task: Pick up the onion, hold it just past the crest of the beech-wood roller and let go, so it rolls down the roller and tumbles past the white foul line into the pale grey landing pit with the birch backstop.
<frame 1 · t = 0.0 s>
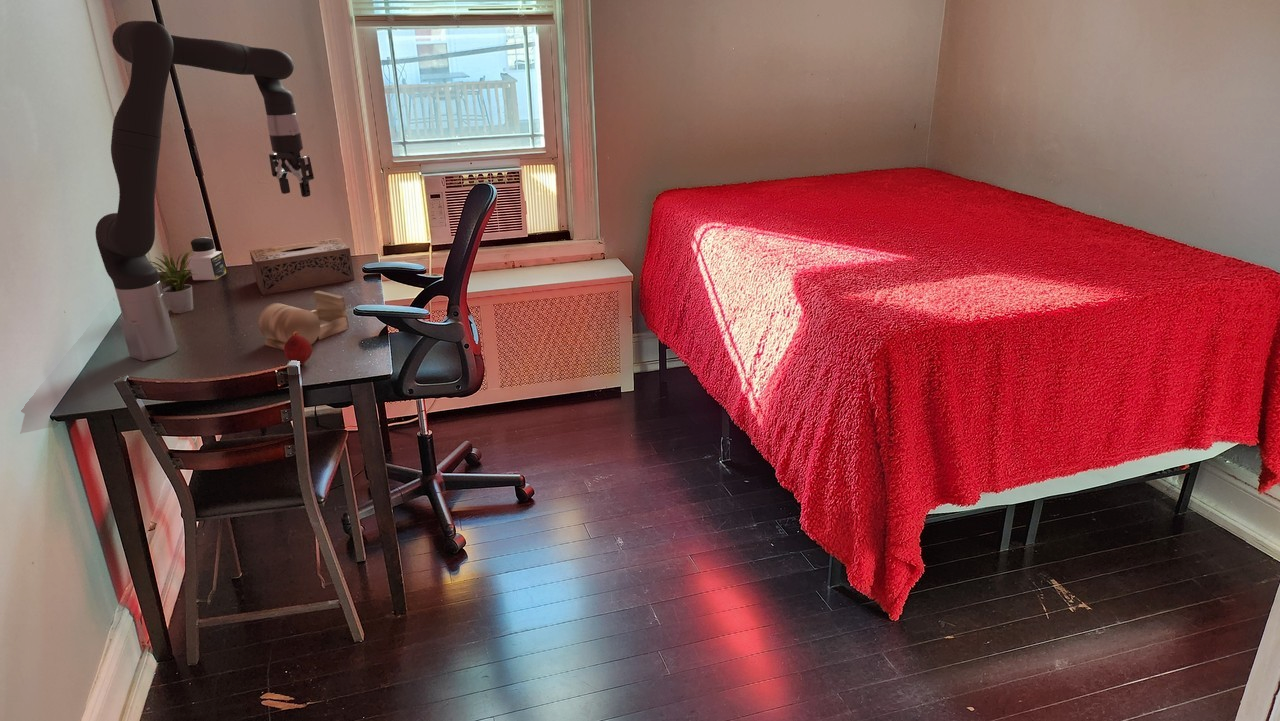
hand: (296, 194, 222), 29 cm above the table, tool pointing down, fingers open, 8 cm apart
pit walls: (318, 329, 211), on the table
onion: (301, 366, 190), on the table
medicine bottle: (210, 277, 256), on the table
tissue box cover: (305, 282, 250), on the table
house plant: (184, 309, 229), on the table
roller: (292, 342, 203), on the table
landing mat: (318, 329, 211), on the table
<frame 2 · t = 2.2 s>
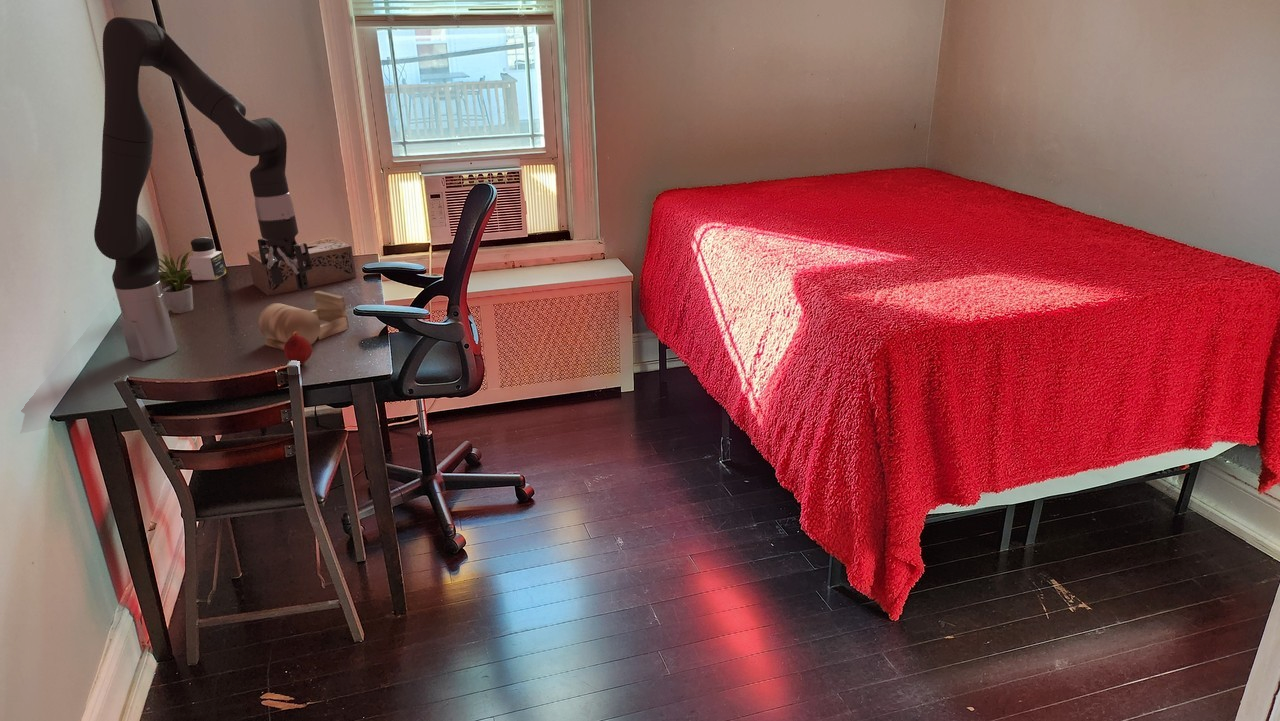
hand: (291, 286, 187), 17 cm above the table, tool pointing down, fingers open, 8 cm apart
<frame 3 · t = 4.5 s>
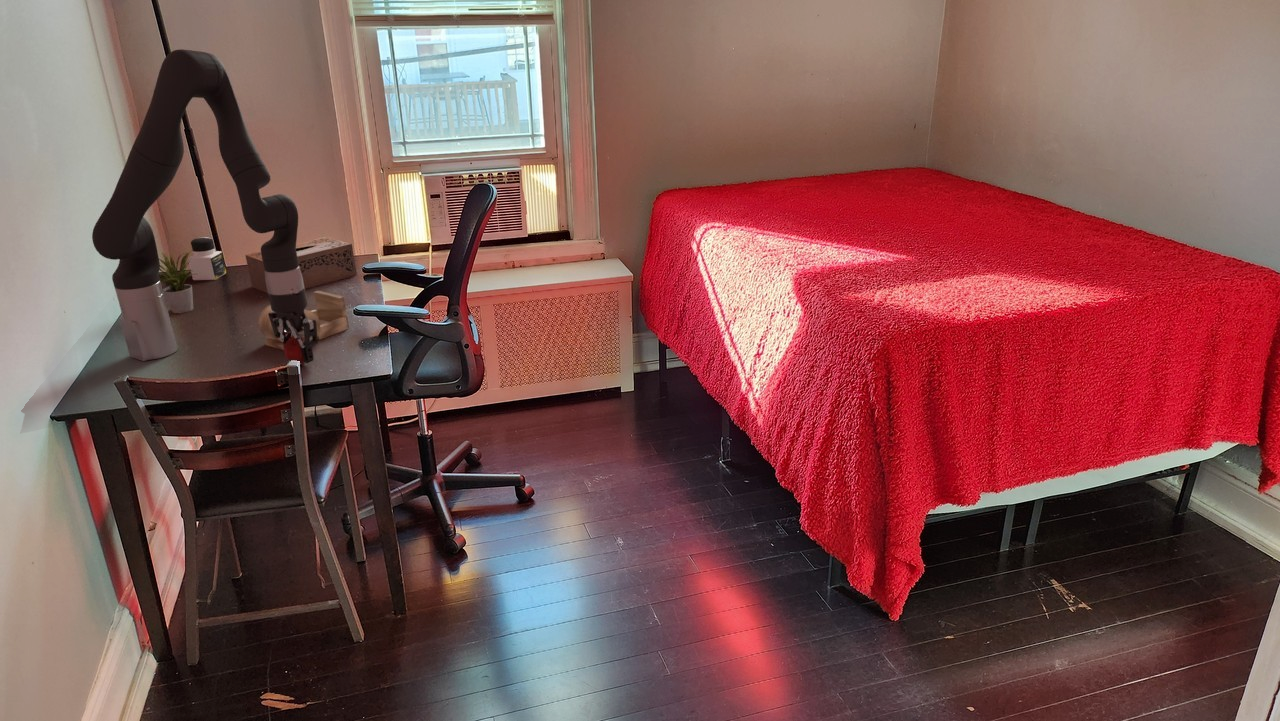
hand: (299, 358, 189), 2 cm above the table, tool pointing down, fingers closed on onion, 5 cm apart
onion: (301, 366, 190), on the table, touching gripper
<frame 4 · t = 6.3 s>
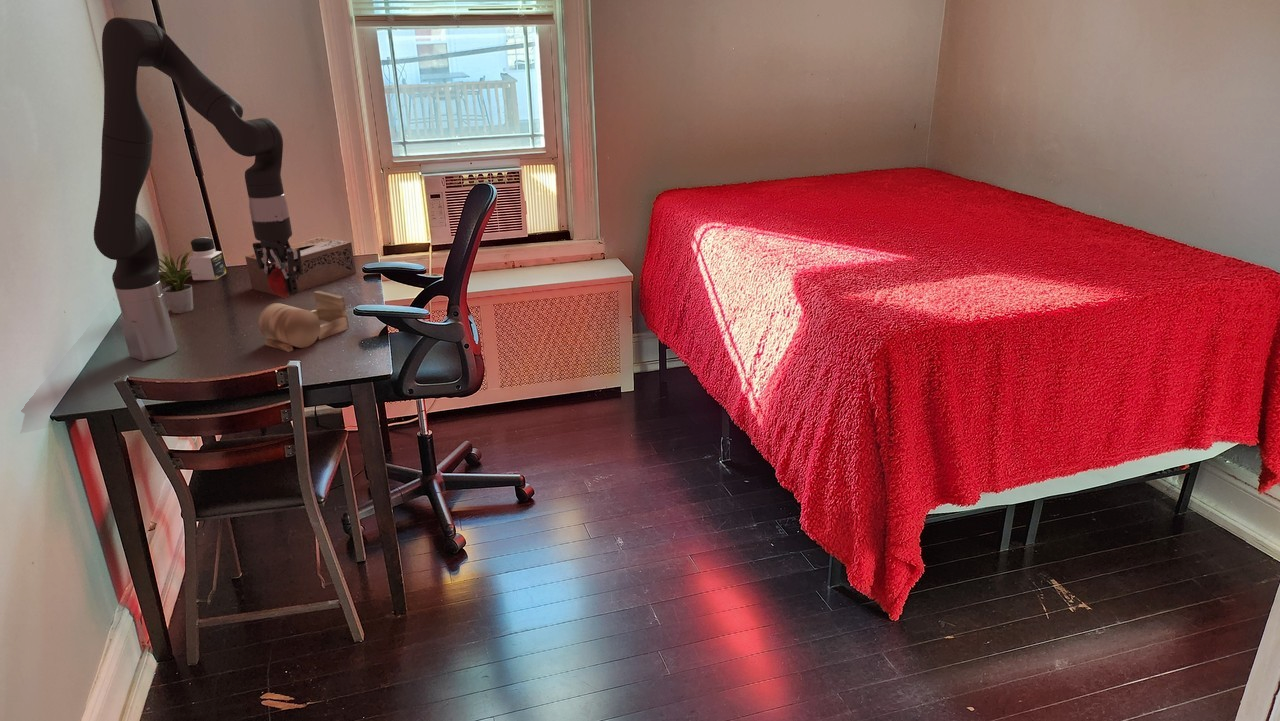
hand: (283, 291, 185), 17 cm above the table, tool pointing down, fingers closed on onion, 5 cm apart
onion: (285, 298, 186), point 15 cm above the table, touching gripper
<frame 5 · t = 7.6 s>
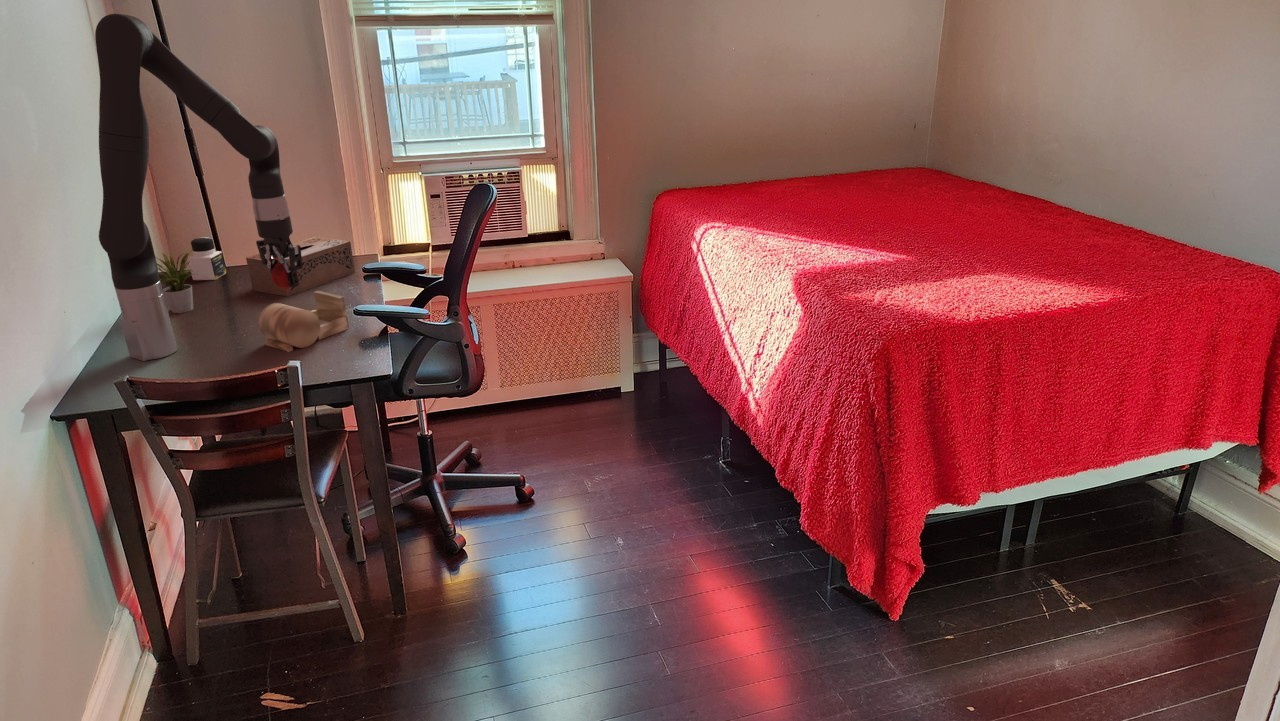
hand: (286, 284, 201), 14 cm above the table, tool pointing down, fingers closed on onion, 5 cm apart
onion: (287, 291, 202), point 12 cm above the table, touching gripper
when the fingers open (13 cm above the table, at t = 8.0 s): onion drops 8 cm, resting on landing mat.
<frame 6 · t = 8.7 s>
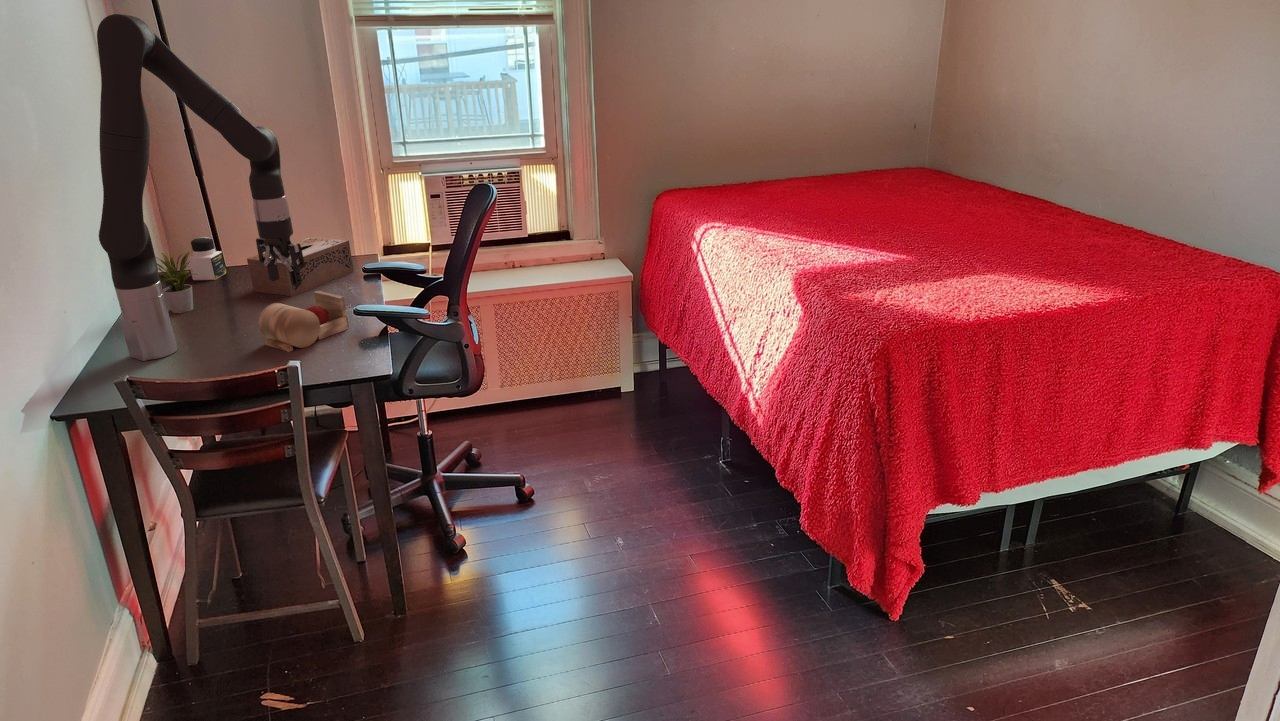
hand: (285, 283, 201), 14 cm above the table, tool pointing down, fingers open, 8 cm apart
onion: (301, 321, 206), point 4 cm above the table, touching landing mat
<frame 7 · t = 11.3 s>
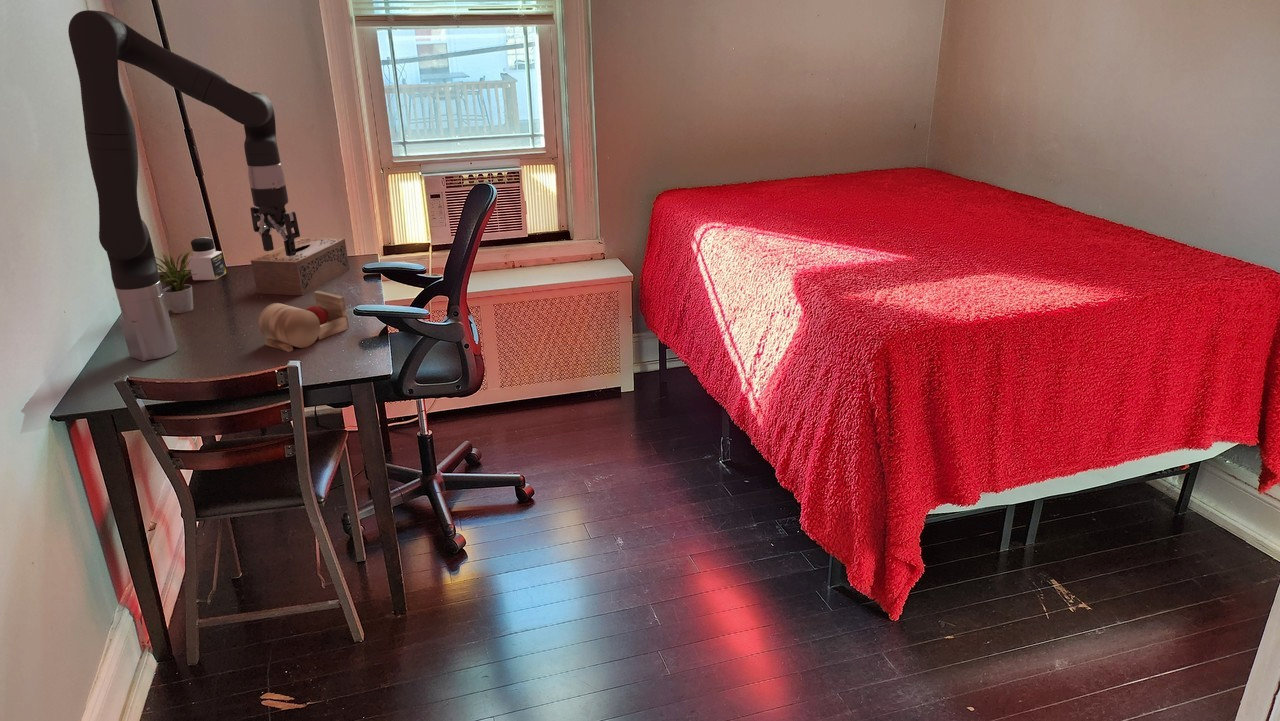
hand: (280, 253, 198), 22 cm above the table, tool pointing down, fingers open, 8 cm apart
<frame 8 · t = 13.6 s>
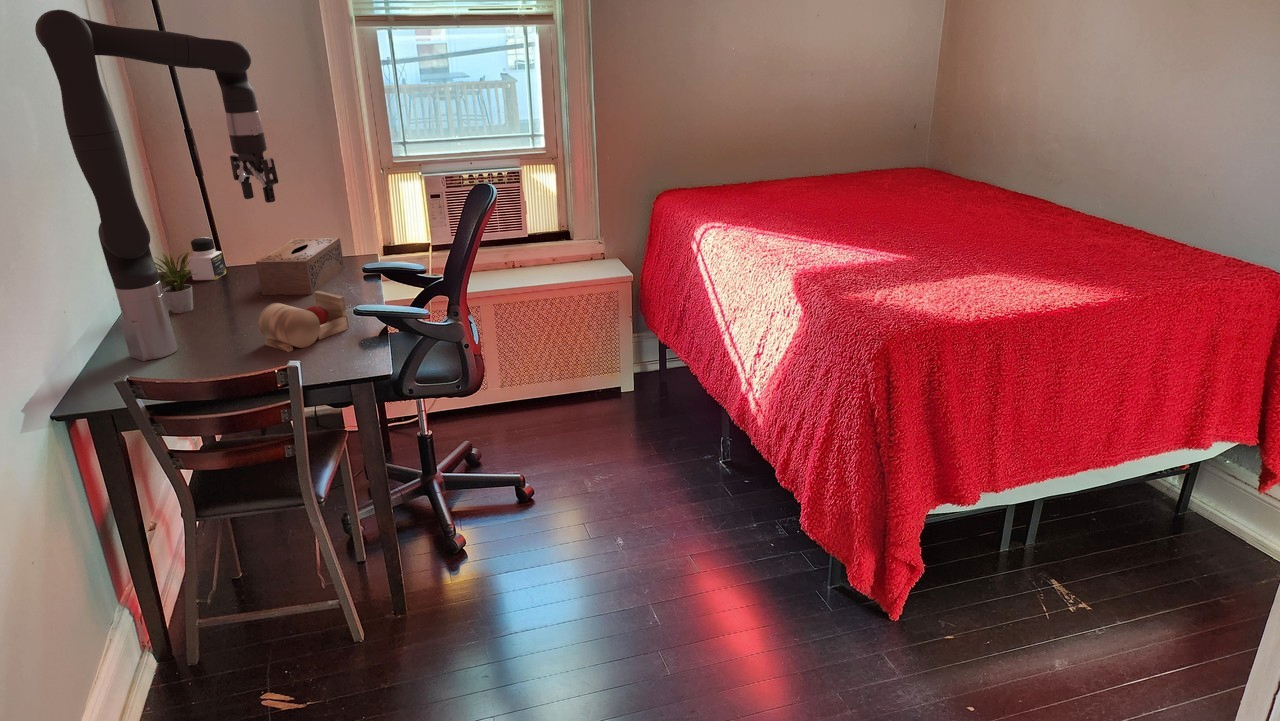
hand: (259, 200, 203), 32 cm above the table, tool pointing down, fingers open, 8 cm apart
at the end: onion inside the target area (4.9 cm from its centre), point 3.5 cm above the table; the gripper is holding nothing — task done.
